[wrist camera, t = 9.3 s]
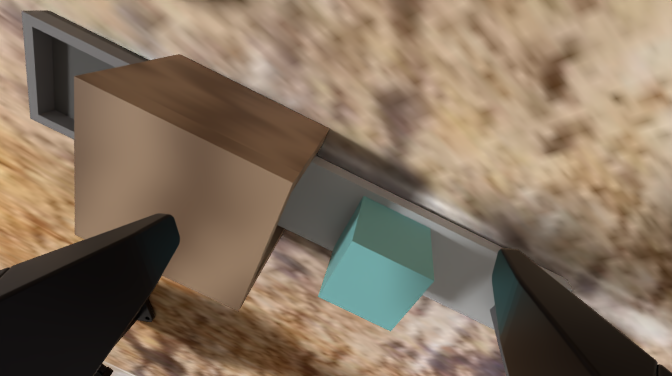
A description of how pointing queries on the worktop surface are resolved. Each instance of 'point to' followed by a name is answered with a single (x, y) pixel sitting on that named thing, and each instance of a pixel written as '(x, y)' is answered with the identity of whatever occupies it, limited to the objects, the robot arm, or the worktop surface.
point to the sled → (390, 250)
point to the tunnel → (189, 166)
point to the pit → (63, 65)
